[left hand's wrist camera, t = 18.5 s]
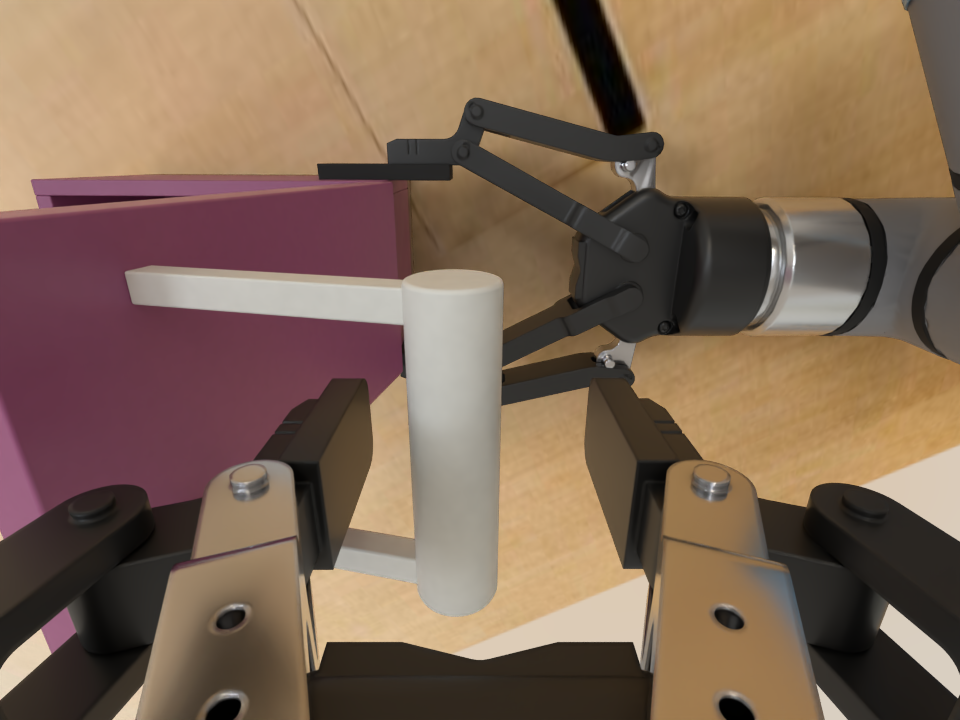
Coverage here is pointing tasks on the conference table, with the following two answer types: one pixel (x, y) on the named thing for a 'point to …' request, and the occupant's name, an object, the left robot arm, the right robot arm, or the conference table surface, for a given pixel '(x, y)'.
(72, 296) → the lid
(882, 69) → the conference table surface
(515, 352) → the right robot arm
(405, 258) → the chest
